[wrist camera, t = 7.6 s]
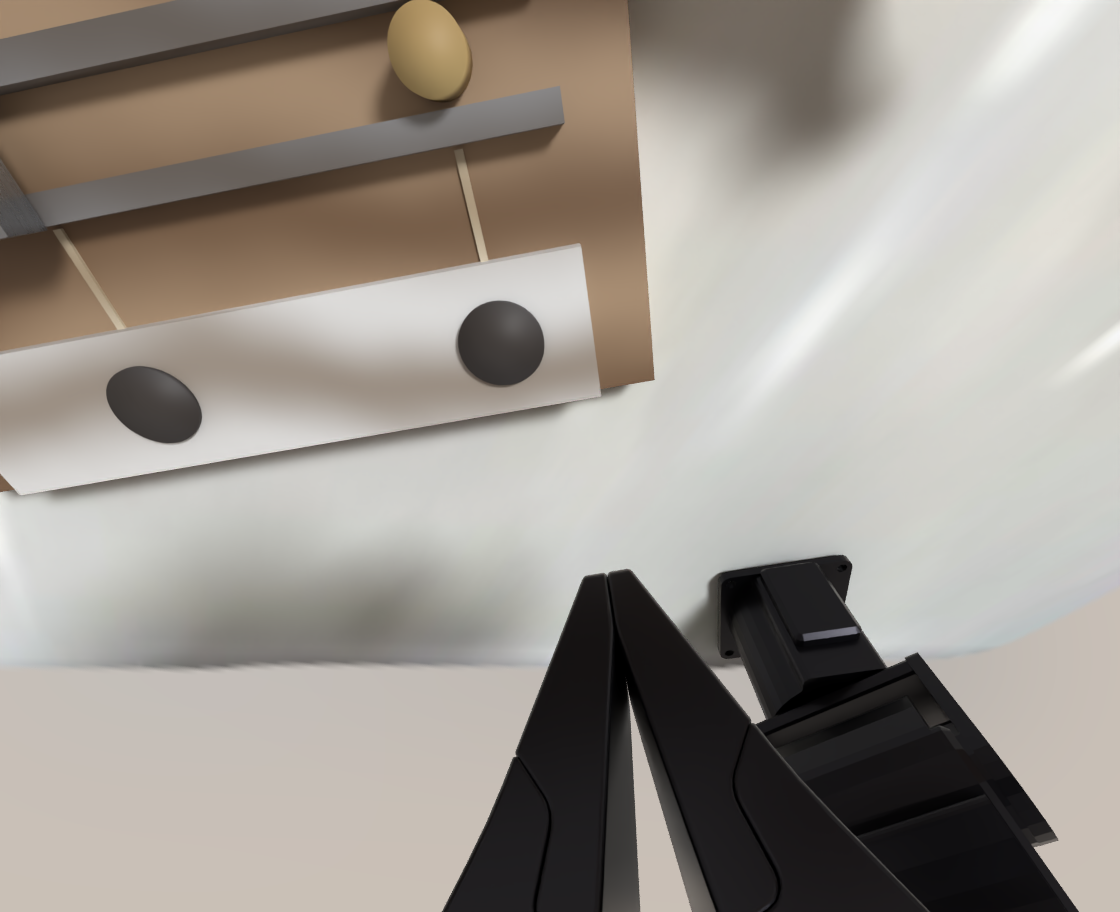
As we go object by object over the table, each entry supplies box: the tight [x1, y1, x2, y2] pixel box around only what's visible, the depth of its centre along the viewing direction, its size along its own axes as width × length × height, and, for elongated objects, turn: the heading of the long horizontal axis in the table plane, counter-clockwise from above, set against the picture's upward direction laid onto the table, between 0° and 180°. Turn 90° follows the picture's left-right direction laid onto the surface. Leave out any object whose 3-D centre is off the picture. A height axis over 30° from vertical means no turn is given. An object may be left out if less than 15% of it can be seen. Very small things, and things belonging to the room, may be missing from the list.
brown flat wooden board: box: [0, 0, 654, 495], centre depth 15 cm, size 14×26×3 cm, turn 99°
